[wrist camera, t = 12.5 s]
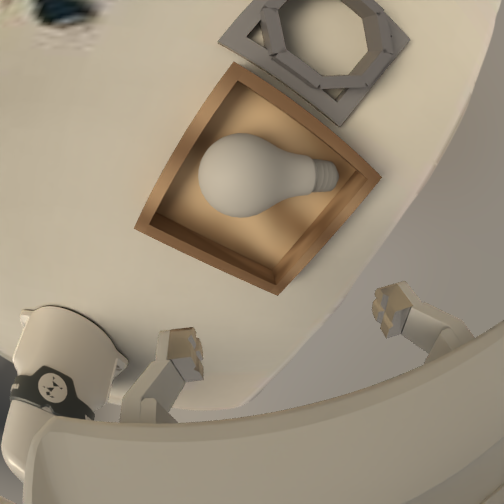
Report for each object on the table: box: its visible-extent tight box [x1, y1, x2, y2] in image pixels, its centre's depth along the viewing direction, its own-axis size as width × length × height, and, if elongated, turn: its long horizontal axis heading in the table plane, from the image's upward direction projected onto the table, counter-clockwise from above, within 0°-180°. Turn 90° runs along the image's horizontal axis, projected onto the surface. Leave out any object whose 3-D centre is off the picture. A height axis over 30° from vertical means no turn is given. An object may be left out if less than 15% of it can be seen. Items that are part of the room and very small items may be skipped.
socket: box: [218, 0, 410, 127], centre depth 15 cm, size 12×12×2 cm
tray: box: [134, 62, 382, 296], centre depth 22 cm, size 15×15×3 cm
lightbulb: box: [198, 133, 339, 218], centre depth 20 cm, size 6×6×11 cm
